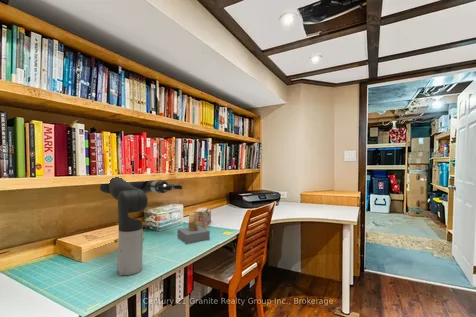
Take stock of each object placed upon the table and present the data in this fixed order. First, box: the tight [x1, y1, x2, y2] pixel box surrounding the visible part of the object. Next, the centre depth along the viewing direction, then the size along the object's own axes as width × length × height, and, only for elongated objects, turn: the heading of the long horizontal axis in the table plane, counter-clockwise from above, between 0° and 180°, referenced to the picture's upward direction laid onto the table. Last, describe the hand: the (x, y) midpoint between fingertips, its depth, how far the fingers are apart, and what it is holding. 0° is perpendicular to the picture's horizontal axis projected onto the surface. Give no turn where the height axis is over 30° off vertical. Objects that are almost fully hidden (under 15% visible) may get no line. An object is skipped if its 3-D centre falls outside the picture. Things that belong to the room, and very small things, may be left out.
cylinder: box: [188, 211, 198, 231], centre depth 144 cm, size 5×5×10 cm
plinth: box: [176, 226, 211, 245], centre depth 144 cm, size 14×14×5 cm
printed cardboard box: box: [194, 207, 212, 229], centre depth 173 cm, size 21×6×12 cm, turn 173°
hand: (176, 188), depth 147 cm, fingers open, 8 cm apart
